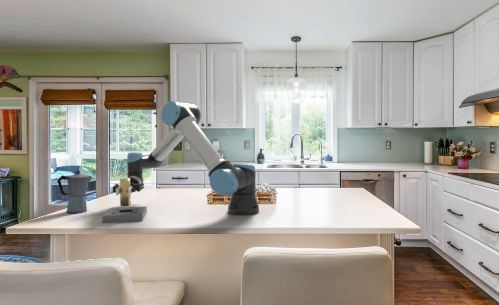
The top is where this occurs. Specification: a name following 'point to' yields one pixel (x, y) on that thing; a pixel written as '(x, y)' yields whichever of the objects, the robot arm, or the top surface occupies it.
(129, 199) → the tan peg
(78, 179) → the moka pot
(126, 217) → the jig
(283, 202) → the top surface
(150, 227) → the top surface
